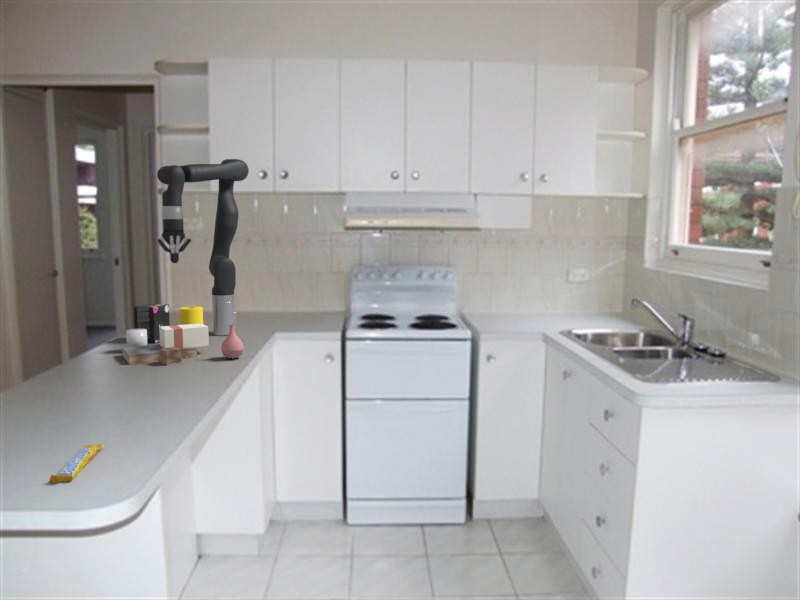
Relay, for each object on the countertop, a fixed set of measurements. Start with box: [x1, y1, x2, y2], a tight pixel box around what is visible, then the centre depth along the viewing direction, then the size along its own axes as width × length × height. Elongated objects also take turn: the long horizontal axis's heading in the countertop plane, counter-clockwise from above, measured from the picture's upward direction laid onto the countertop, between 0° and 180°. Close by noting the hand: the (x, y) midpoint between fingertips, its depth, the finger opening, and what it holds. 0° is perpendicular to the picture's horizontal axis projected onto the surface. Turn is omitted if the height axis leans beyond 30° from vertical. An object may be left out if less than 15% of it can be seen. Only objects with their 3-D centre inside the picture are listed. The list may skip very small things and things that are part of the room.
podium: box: [121, 343, 198, 365], centre depth 208 cm, size 22×16×3 cm
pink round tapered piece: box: [220, 324, 245, 360], centre depth 205 cm, size 8×8×12 cm
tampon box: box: [133, 303, 171, 344], centre depth 237 cm, size 11×9×15 cm
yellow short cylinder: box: [179, 306, 204, 325], centre depth 268 cm, size 10×10×9 cm
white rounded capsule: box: [125, 328, 149, 347], centre depth 217 cm, size 7×7×8 cm
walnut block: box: [159, 347, 182, 366], centre depth 198 cm, size 5×5×5 cm
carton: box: [159, 323, 210, 349], centre depth 213 cm, size 7×9×15 cm
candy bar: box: [49, 443, 105, 484], centre depth 112 cm, size 17×4×2 cm, turn 8°
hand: (174, 263), depth 228 cm, fingers closed
